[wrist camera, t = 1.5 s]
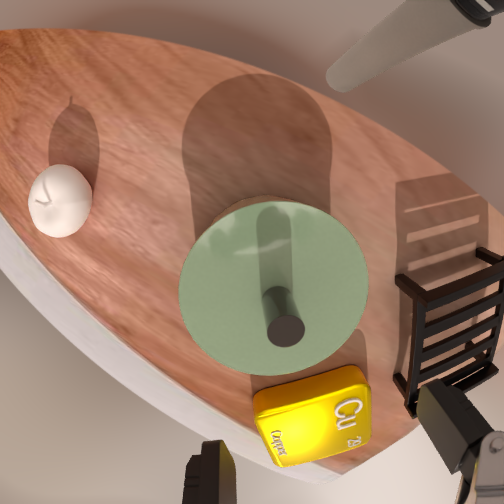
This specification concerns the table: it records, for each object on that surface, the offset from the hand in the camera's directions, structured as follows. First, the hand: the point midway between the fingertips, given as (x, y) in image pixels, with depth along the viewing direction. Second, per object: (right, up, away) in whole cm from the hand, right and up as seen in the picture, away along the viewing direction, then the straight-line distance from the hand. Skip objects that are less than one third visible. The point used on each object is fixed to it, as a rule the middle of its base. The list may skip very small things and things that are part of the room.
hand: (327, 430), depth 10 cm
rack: (+23, -2, +25) cm, 34 cm away
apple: (-22, +13, +18) cm, 31 cm away
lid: (-1, +3, +13) cm, 14 cm away
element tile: (+6, -16, +28) cm, 33 cm away
